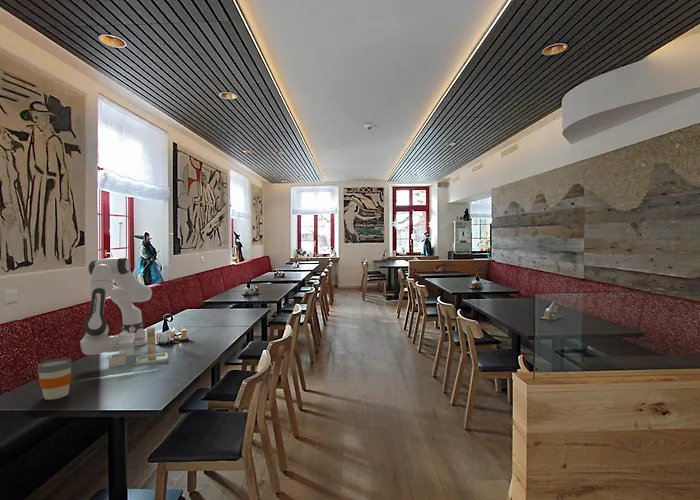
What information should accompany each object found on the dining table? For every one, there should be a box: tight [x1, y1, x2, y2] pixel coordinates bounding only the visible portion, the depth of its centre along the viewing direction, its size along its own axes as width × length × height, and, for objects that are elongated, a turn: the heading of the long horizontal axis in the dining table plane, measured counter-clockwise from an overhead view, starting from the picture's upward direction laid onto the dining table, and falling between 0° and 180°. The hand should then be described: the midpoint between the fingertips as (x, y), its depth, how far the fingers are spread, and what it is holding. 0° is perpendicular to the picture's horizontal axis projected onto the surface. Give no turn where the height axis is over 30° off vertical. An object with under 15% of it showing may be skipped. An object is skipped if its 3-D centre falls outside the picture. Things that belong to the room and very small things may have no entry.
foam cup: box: [118, 333, 135, 357], centre depth 246 cm, size 10×9×13 cm
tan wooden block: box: [146, 326, 157, 360], centre depth 234 cm, size 4×4×18 cm
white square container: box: [107, 352, 128, 367], centre depth 229 cm, size 8×8×6 cm
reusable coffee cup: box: [36, 357, 73, 400], centre depth 185 cm, size 13×13×15 cm
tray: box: [135, 351, 169, 366], centre depth 234 cm, size 14×16×2 cm
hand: (143, 340), depth 232 cm, fingers open, 8 cm apart
